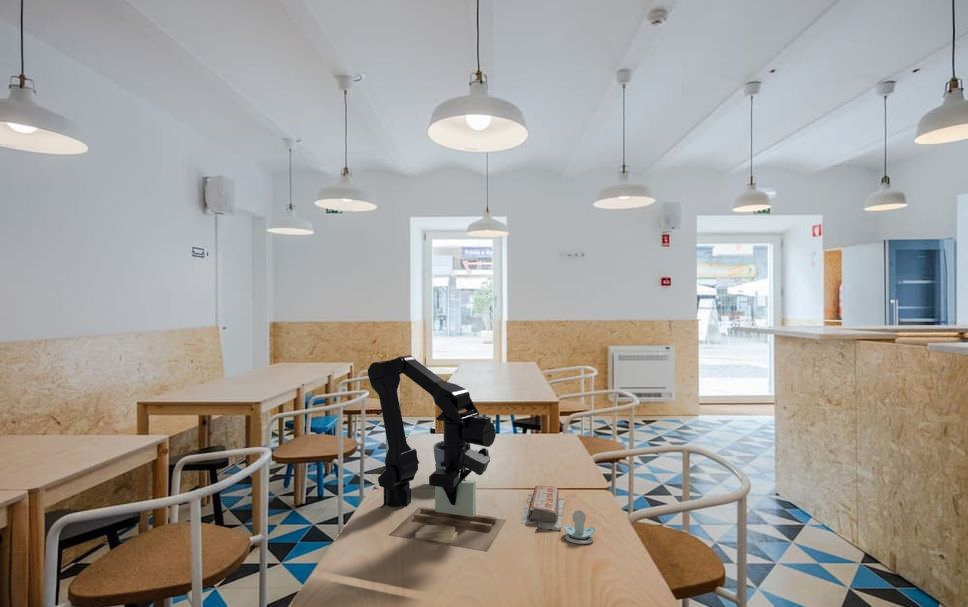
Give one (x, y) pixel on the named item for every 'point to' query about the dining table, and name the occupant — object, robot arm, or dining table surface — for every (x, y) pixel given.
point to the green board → (457, 500)
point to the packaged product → (544, 508)
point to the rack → (470, 529)
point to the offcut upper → (438, 531)
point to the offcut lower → (436, 537)
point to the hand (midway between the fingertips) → (455, 502)
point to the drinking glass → (438, 455)
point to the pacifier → (579, 529)
